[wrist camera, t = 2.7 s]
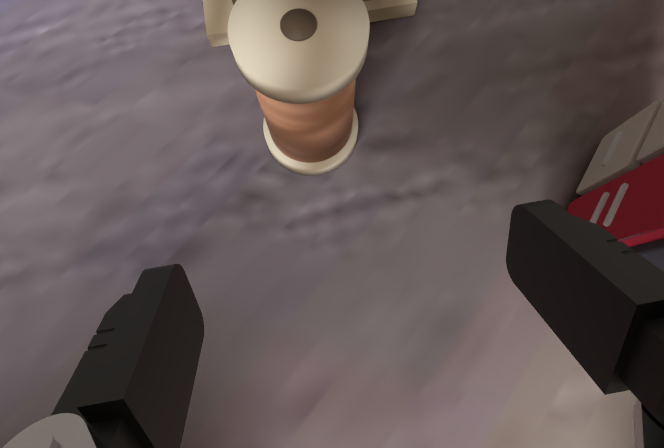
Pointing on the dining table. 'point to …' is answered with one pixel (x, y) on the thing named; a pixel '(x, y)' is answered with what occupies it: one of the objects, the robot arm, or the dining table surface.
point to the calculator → (629, 184)
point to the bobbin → (303, 75)
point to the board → (218, 3)
